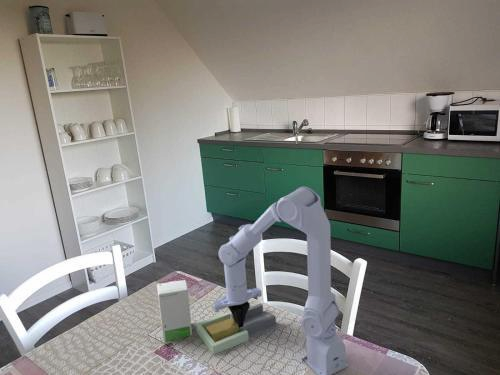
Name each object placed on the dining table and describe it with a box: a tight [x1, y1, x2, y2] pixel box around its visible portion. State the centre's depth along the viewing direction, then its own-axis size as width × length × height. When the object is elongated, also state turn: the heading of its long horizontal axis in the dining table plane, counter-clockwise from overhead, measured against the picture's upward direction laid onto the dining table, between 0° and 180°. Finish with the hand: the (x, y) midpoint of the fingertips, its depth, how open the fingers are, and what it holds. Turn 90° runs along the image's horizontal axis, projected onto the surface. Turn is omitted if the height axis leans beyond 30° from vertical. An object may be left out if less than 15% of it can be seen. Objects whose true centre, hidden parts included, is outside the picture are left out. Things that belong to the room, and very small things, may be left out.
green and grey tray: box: [194, 303, 280, 355], centre depth 113 cm, size 12×20×4 cm, turn 119°
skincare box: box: [156, 279, 193, 345], centre depth 112 cm, size 8×7×16 cm
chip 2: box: [219, 318, 240, 338], centre depth 112 cm, size 4×4×3 cm
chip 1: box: [206, 322, 226, 342], centre depth 110 cm, size 4×4×3 cm
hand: (239, 325), depth 113 cm, fingers closed
